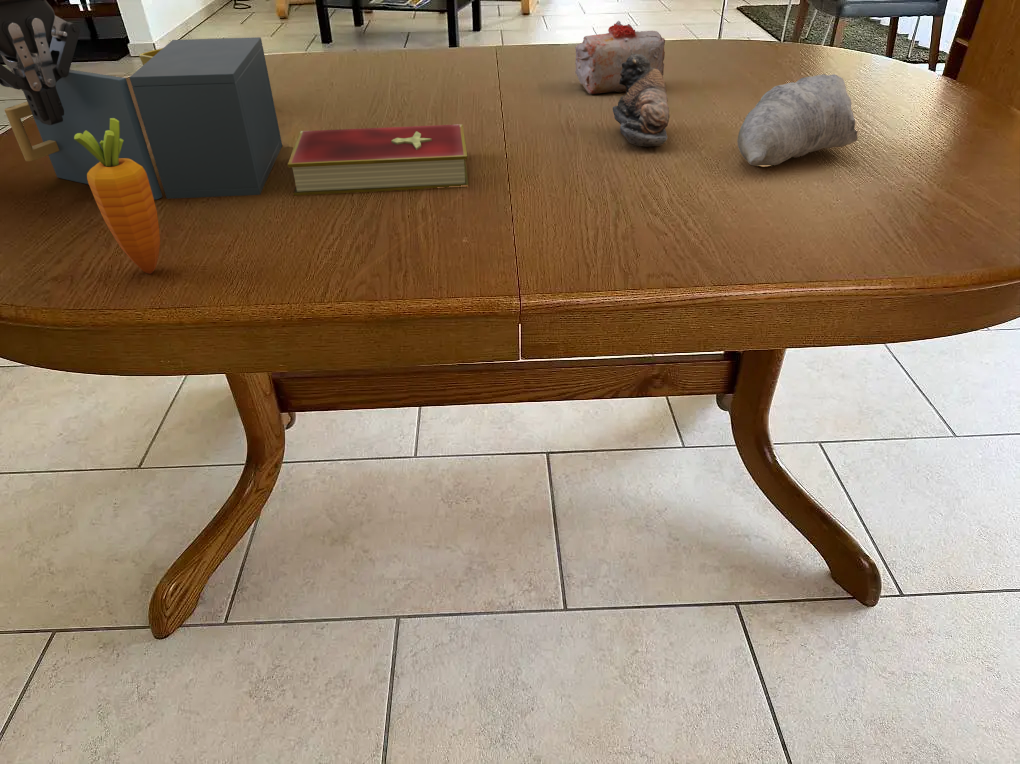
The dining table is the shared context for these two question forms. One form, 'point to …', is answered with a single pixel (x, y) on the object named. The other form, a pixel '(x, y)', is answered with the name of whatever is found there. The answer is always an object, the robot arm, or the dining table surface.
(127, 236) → the carrot
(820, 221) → the dining table surface
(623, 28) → the food item
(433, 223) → the dining table surface
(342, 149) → the hardcover book
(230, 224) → the dining table surface
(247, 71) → the cupboard
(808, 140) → the seashell
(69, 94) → the door
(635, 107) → the bison figurine
